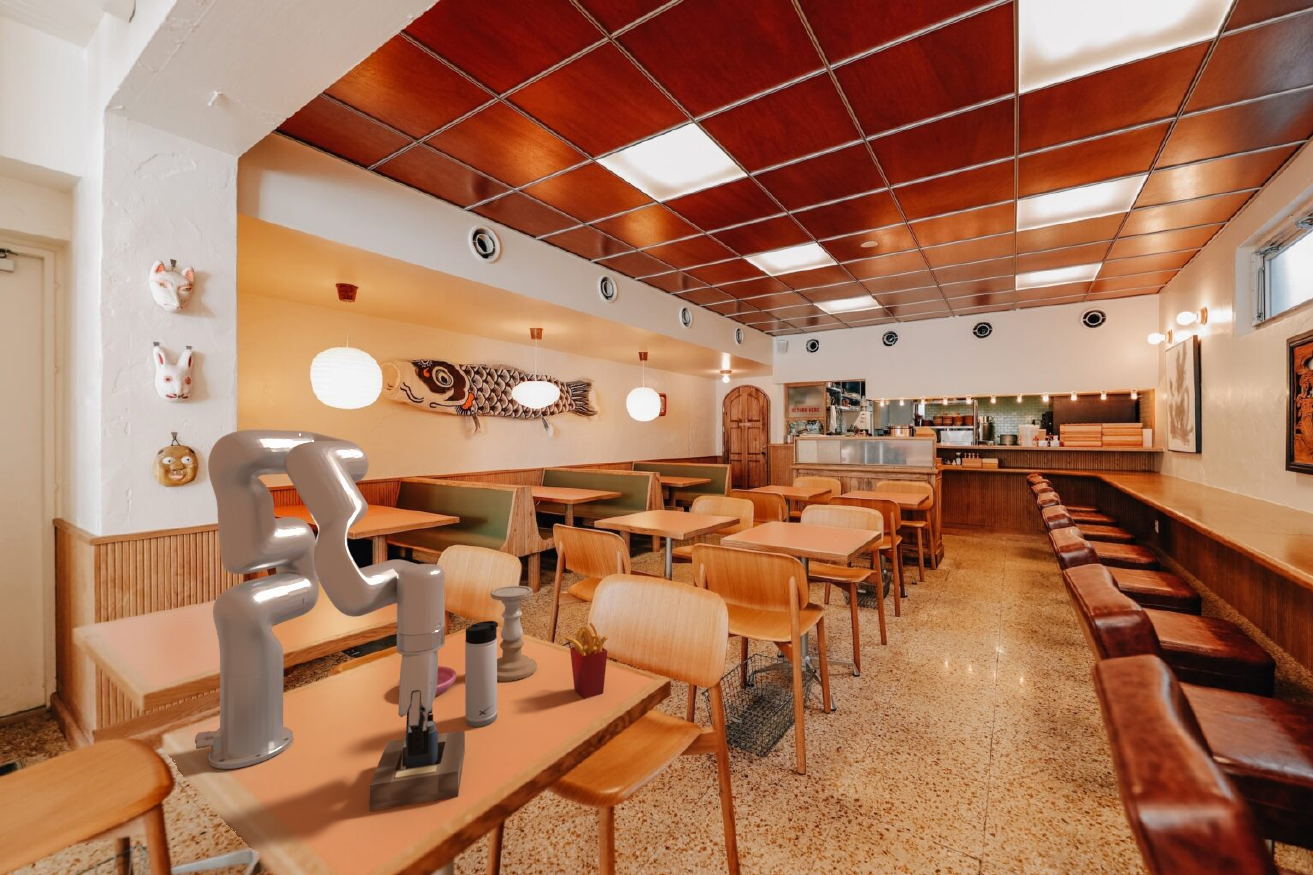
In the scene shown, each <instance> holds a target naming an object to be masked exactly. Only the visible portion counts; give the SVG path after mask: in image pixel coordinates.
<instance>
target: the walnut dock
mask: <svg viewBox="0 0 1313 875" xmlns="http://www.w3.org/2000/svg"><path fill="white" fill-rule="evenodd" d="M465 732H466V731H465V729H464V730H458V731H457V730H456V731H449V732H443V733H438V752H437V764H436V765H430V766H423V767H416V768H410V769H406V739H405V738H400V739H399V738H397V739H392V740H387V742H386V745H385V747H384V750H383V752H382V754H381V757H380V759H379V761H378V764H377V766H376V769H375V771H374V774H373V776H372V778H371V781H370V783H369V785H368V786H369V787H368V788H369V800H368V801H369V804H368V805H369V808H368V809H369V812H373V811H379V810H384V809H389V808H396V807H397V808H398V807H402V806H409V805H414V804H420V803H425V802H426V803H427V802H432V801H438V800H445V799H450V798H455V797H456V798H457V797H459V794H460V786H461V780H462V779H461V778H462V773H463V766H464V760H465V754H466V752H465V751H466V748H465V746H466V745H465V744H466V738H465V737H466V736H465V735H466V733H465Z"/></svg>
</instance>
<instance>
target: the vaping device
mask: <svg viewBox="0 0 1313 875" xmlns="http://www.w3.org/2000/svg"><path fill="white" fill-rule="evenodd" d="M420 710H422V708H420ZM420 719H422V716H420ZM436 723H437V722H436V721H434V720H433V721H428V722H427V728H429V752H428V753H427V754H422V755H415V756H408V728H409V708H408V711H407V713H406V728H405V738H404V739H406V769H410V768H416V767H423V766H430V765H436V764H437V752H438V734H439V732H438V728H437V727H436Z"/></svg>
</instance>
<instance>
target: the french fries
mask: <svg viewBox="0 0 1313 875" xmlns="http://www.w3.org/2000/svg"><path fill="white" fill-rule="evenodd" d="M588 624H589V626H587V627H586V626H584V625H583V627H580V628H579V630H578V632H575V633H574V637H575V638H573V637H570V636H569V635H567V636H566V638H565V641H567V642H570V643H572V645H574V646H573V647H569V650H570V652H569V653H570V661H571V668H572V679H573V688H574V692H575V693H576V694H577V695H579V696H580V697H581V698H582V699H583V700H586V699H590V698H591V697H595V696H599V695H603V694H604V688H605V681H606V680H605V679H606V671H607V669H606V667H607V660H608V649H606V648H605V647H603V645H604V644H605V642H606V641H607V640H608V639H609V636H608V635H604V636H603V637H601V635H599V634H598V631H597V629H596V627H595V625H594V624H593V622H590V623H588ZM590 627H591V628H590ZM591 629H592V630H591Z"/></svg>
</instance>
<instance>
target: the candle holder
mask: <svg viewBox="0 0 1313 875" xmlns="http://www.w3.org/2000/svg"><path fill="white" fill-rule="evenodd" d="M533 594H534V589H533V588H532V587H530V586H525V585H510V586H509V585H508V586H501V587H498V588H495V589H493V590H491V592H490V594H489V595H490V598H491V599H492V600H495V601H501V603H502V605H504V611H503V612H502V613H501V617H502V618H503V624H502V628H501V631H500V637H501V639H502V641H501V642H500V644H499V647H500V649H501V650H502V656H500V657H497V680H498V681H497V682H513V681H512V680H515V681H517V680H516V679H520V680H522V679H521V678H523V679H526V678H529V677H530V676H532V675H534V674H535V673H536V671H537V668H538V665H537V664H538V663H537V661H536V660H535V659H533V658H531V657H529V656H527V655H525V654H522V647H523V646H524V644H525V643H524V642H525V641H524V640H523V639H522V637H523V634H524V629H523V627H522V623H521V618H520V617H521V616H522V615H523V612H522V610H521V609H520V603H522V602H523V600H524V599H527V598H529V597H531V596H533ZM531 674H532V675H531Z"/></svg>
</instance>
